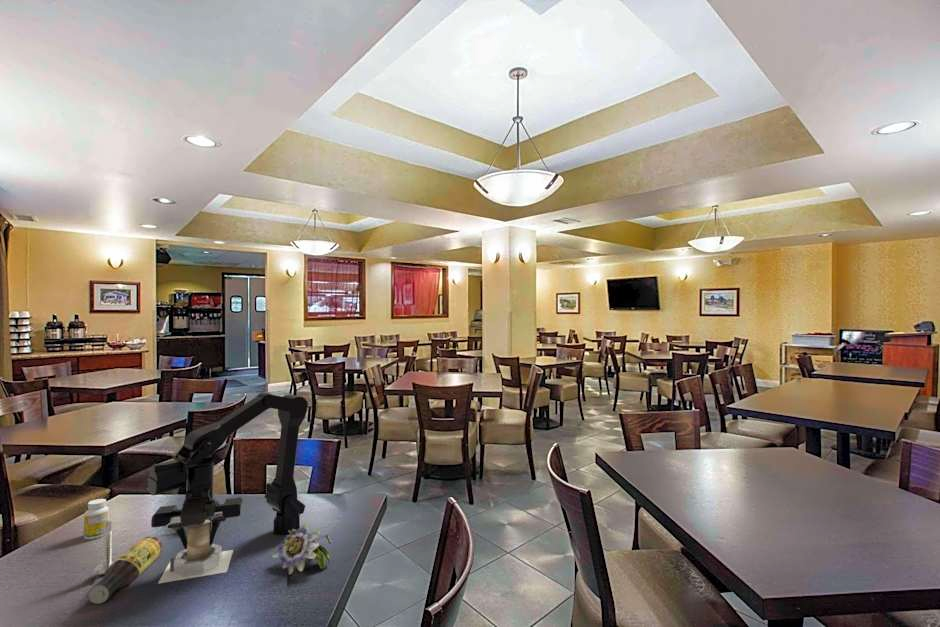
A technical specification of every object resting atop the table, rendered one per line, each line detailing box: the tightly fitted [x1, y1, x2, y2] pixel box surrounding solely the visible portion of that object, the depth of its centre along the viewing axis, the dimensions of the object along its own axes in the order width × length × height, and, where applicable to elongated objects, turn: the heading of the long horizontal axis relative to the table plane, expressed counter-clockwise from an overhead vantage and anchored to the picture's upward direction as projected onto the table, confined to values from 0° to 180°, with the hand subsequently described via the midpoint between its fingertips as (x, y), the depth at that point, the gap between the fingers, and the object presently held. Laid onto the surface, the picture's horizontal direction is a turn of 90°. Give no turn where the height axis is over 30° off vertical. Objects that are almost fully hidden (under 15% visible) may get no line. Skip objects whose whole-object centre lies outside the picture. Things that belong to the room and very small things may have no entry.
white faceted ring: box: [169, 543, 223, 577], centre depth 109 cm, size 10×10×3 cm
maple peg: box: [187, 519, 212, 561], centre depth 109 cm, size 5×5×8 cm
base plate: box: [157, 549, 234, 585], centre depth 109 cm, size 14×11×1 cm
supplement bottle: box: [83, 498, 110, 540], centre depth 126 cm, size 5×5×10 cm
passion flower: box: [271, 522, 332, 576], centre depth 111 cm, size 11×11×12 cm
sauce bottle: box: [87, 536, 164, 605], centre depth 104 cm, size 7×6×20 cm
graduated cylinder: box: [93, 520, 116, 577], centre depth 106 cm, size 13×5×5 cm
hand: (198, 546), depth 109 cm, fingers closed on maple peg, 5 cm apart
